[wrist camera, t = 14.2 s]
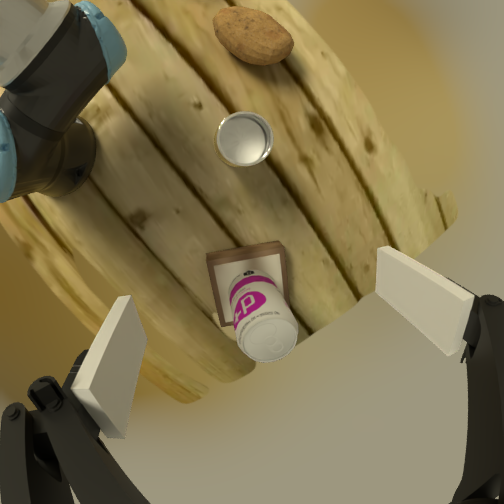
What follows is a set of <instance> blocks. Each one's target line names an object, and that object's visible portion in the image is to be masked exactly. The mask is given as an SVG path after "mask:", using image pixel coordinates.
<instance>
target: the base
mask: <svg viewBox="0 0 504 504" xmlns="http://www.w3.org/2000/svg"><path fill="white" fill-rule="evenodd" d="M206 261H207V266H208V271H209V276H210V280H211V285H212V290H213V294H214V299H215V303H216V307H217V312H218V316H219V320H220V325H221V327H225V326H231V325H234V323H233V318H232V312H231V306H230V301H229V295H228V291H229V286H230V284H231V282H232V281H233V279H234V278H235V277H236V276H238V275H239V274H240V273H242V272H245V271H248V270H260V271H263V272H266V273H267V274H269V275H270V276H271V277H272V278H273V280H274V282H275V284H276V285H277V287H278V289H279V291H280V293H281V294H282V296H283V298H284V300H285V302H286V303H287V305H288V307H289V309H290V301H289V290H288V279H287V269H286V259H285V249H284V246H283V245H282V244H281V243H280V242H279V241H273V242H267V243H261V244H256V245H250V246H245V247H239V248H234V249H228V250H223V251H217V252H212V253H206Z"/></svg>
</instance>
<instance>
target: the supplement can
mask: <svg viewBox="0 0 504 504" xmlns="http://www.w3.org/2000/svg"><path fill="white" fill-rule="evenodd" d="M228 295H229V301H230V306H231V312H232V318H233V323H234V328H235V334H236V339H237V344H238V346H239V348H240V349H241V350H242V352H243V353H245V354H247V356H248V357H249V358H251V359H253V360H255V361H258V362H263V363H265V362H274V361H277V360H280V359H282V358H283V357H285V356H286V355H288V354H289V353H290V352H291V351H292V350H293V348H294V347H295V344H296V342H297V335H298V323H297V321H296V319H295V318H294V316H293V314H292V312H291V310H290V309H289V307H288V305H287V303H286V302H285V300H284V298H283V296H282V294H281V293H280V291H279V289H278V287H277V285H276V284H275V282H274V280H273V278H272V277H271V276H270V275H269V274H267V273H266V272H263V271H260V270H248V271H245V272H242V273H240V274H239V275H238V276H236V277H235V278H234V279H233V281H232V282H231V284H230V286H229V291H228Z"/></svg>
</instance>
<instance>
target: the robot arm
mask: <svg viewBox="0 0 504 504" xmlns="http://www.w3.org/2000/svg"><path fill="white" fill-rule="evenodd" d="M126 56H127V48H126V45H125V43H124V41H123V39H122V37H121V35H120V33H119V32H118V30H117V29H116V28H115V26H114V25H113V24H112V22H111V21H110V20H109V19H108V18H107V17H105V16H104V14H103V13H102V12H101V11H100V9H99V8H98V7H96V6H95V5H94V4H92V3H91V2H89V1H81V2H79V3H77V4H75V5H73V4H72V3H71V2H69V1H68V0H61V1H56V2H52V3H51V2H47V1H46V0H0V86H1V87H3V88H5V91H4V93H3V94H2V96H1V97H0V203H3V202H6V201H8V200H11V199H14V198H17V197H20V196H24V195H27V194H30V193H34V192H39V193H41V194H44V195H46V196H51V197H57V196H62V195H66V194H69V193H71V192H73V191H75V190H76V189H78V188H79V187H80V186H81V185H82V184H83V183H84V182H85V180H86V179H87V177H88V176H89V174H90V172H91V170H92V167H93V164H94V161H95V155H96V142H95V137H94V133H93V131H92V129H91V127H90V125H89V124H88V123H87V122H86V121H85V120H84V119H83V118H81V117H80V116H79V114H80V113H81V112H82V110H83V109H84V108H85V107H86V105H87V104H88V103H89V102H90V101H91V99H92V98H93V97H94V96H95V95H96V94H97V92H98V91H99V90H100V89H101V88H102V87H103V86H104V84H105V85H106V84H108V83H109V81H110V79H111V77H112V76H113V75H114V74H115V73H116V71H117V70H118V69H119V68H120V67H121V66H122V65H123V64H124V62H125V60H126ZM376 293H377V294H378V295H379V296H381V297H382V298H383V299H384V300H385V301H386V302H387V303H389V304H390V305H391V306H392V307H393V308H394V309H396V310H397V311H398V312H399V313H400V314H401V315H403V316H404V317H405V318H406V319H407V320H408V321H409V322H411V323H412V324H413V325H414V326H415V327H416V328H417V329H418V330H419V331H421V332H422V333H423V334H424V335H425V336H426V337H427V338H428V339H430V340H431V341H432V342H433V343H434V344H435V345H436V346H437V347H438V348H439V349H441V351H442V352H444V353H445V354H446V355H447V356H450V355H451V354H453V353H455V352H457V351H458V350H459V348H460V346H461V343H462V339H464V340H465V341H466V342H467V345H466V347H465V350H464V353H463V355H462V358H461V363H463V360H464V358H466V364H467V378H468V430H467V445H466V455H465V464H464V471H463V476H462V480H461V482H460V484H459V486H458V488H457V490H456V492H455V494H454V496H453V499H452V502H450V503H449V504H504V301H502V299H500V298H499V297H497V296H494V295H483V296H482V297H481V298H480V297H478V296H477V295H475V294H474V293H472V292H470V291H469V290H467V289H465V288H464V287H461V285H459V284H457V283H455V282H454V281H452V280H450V279H449V278H446V277H443V276H441V275H440V274H438V273H436V272H435V271H433V270H431V269H430V268H428V267H426V266H424V265H422V264H421V263H419V262H417V261H415V260H414V259H412V258H410V257H408V256H406V255H405V254H403V253H401V252H399V251H397V250H395V249H393V248H392V247H390V246H385V247H380V248H377V275H376ZM146 344H147V336H146V334H145V331H144V329H143V326H142V323H141V321H140V318H139V315H138V312H137V310H136V307H135V304H134V301H133V298H132V295H127V296H121V297H118V298H117V300H116V301H115V303H114V305H113V307H112V308H111V310H110V312H109V314H108V315H107V317H106V319H105V321H104V323H103V325H102V326H101V328H100V330H99V332H98V334H97V336H96V338H95V340H94V341H93V343H92V345H91V347H90V349H88V350H84V351H83V352H82V353H81V354H80V355H79V356H78V357H77V359H76V361H75V363H74V364H73V367H72V368H71V370H70V373H69V374H68V376H67V378H66V380H65V382H64V384H63V386H62V388H61V387H60V386H59V384H58V383H57V381H56V380H55V378H54V377H51V376H44V377H41V378H39V379H37V380H36V381H34V382H33V383H32V384H31V385H30V387H29V389H28V394H27V395H28V397H29V398H30V400H31V401H32V402H33V404H34V405H35V406H36V408H37V409H38V410H33V411H28V410H27V409H26V408H25V407H24V405H23V404H22V403H19V402H17V403H13V404H11V405H9V406H8V407H6V409H5V410H4V412H3V415H2V420H1V430H0V493H1V503H2V504H74V500H73V496H72V493H71V489H70V486H71V488H72V490H73V491H74V493H75V495H76V497H77V499H78V500H79V502H80V504H150V503H149V502H148V500H147V499H146V498H145V497H144V496H143V495H142V494H141V492H140V491H139V490H138V489H137V488H136V487H135V485H134V484H133V483H132V482H131V481H130V479H129V478H128V477H127V475H126V474H125V473H124V472H123V470H122V469H121V468H120V466H119V465H118V463H117V462H116V461H115V459H114V458H113V457H112V455H111V454H110V452H109V451H108V449H107V448H106V446H105V445H104V443H103V442H102V441H101V440H100V438H99V437H98V436H99V432H100V429H101V431H102V432H103V433H104V434H105V435H106V436H107V438H122V439H125V435H126V430H127V425H128V420H129V414H130V410H131V405H132V400H133V396H134V392H135V387H136V383H137V379H138V375H139V371H140V367H141V363H142V359H143V355H144V351H145V347H146ZM69 484H70V485H69ZM497 496H499V499H495V498H496V497H497Z"/></svg>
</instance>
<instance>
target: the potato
mask: <svg viewBox="0 0 504 504" xmlns="http://www.w3.org/2000/svg"><path fill="white" fill-rule="evenodd" d="M213 25H214V30H215V35H216V36H217V38H218V40H219V41H220V43H221V44H222V45H223V46H224V47H225V48H226V49H228V50H229V51H230V52H231V53H233V54H234V55H235V56H237V57H238V58H239V59H241V60H242V61H245V62H248V63H250V64H255V65H262V66H264V65H269V64H273V63H278V62H280V61H281V60H283V59H284V58H285V57H287V56H288V55H289V54H290V53H291V51H292V48H293V46H294V41H293V39H292V37H291V34H290V33H289V32H288V31H287V30H286V29H285V28H284V27H282V26H281V25H280V24H279V23H278V22H276V21H275V20H274V19H273V18H272V17H271V16H270V15H268V14H266V13H264V12H262V11H257V10H253V9H249V8H245V7H236V6H234V7H229V8H224V9H221V10H220V11H219V12H218V13H217V15H216V16H215V17H214V18H213Z"/></svg>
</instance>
